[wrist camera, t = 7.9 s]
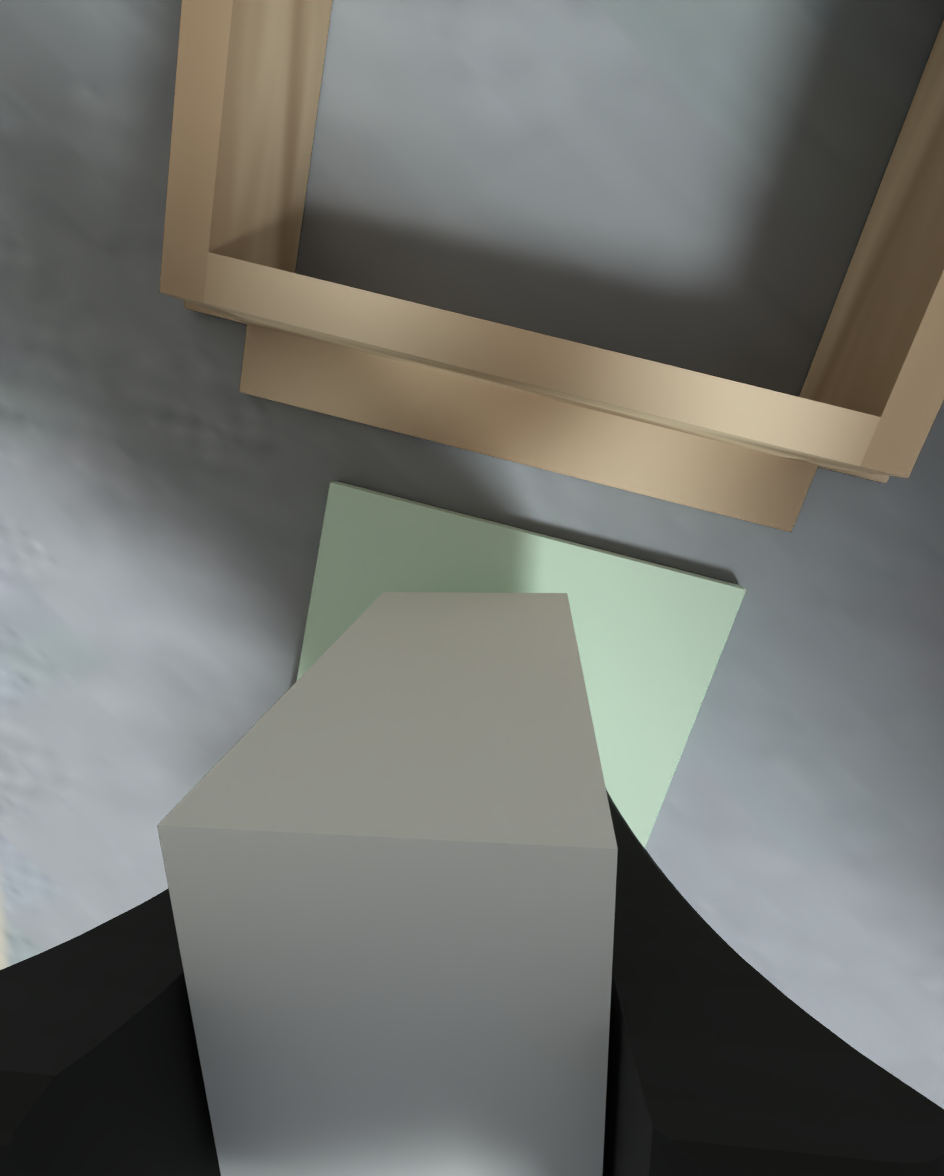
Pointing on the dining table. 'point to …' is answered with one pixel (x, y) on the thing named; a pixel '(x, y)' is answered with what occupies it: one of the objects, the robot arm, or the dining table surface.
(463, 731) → the box
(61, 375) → the dining table surface
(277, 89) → the wooden frame
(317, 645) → the green mat
